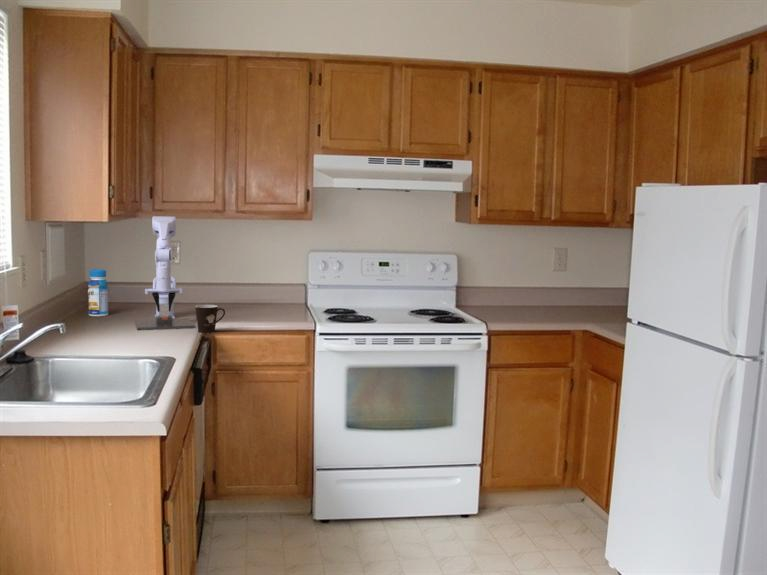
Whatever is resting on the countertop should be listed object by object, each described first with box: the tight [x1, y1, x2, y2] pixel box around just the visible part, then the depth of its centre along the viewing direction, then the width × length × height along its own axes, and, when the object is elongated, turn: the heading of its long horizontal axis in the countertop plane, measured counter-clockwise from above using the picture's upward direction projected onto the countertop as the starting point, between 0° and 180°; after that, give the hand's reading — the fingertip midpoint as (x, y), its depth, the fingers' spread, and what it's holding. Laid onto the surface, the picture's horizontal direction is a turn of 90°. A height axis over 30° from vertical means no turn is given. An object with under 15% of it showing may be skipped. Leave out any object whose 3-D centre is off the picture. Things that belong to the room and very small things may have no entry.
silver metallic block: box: [159, 303, 169, 317], centre depth 306 cm, size 4×4×6 cm
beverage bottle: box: [87, 268, 109, 317], centre depth 327 cm, size 8×8×20 cm
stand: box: [133, 315, 196, 331], centre depth 306 cm, size 22×22×4 cm
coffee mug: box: [194, 304, 226, 334], centre depth 293 cm, size 12×9×10 cm
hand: (163, 311), depth 306 cm, fingers closed on silver metallic block, 4 cm apart
